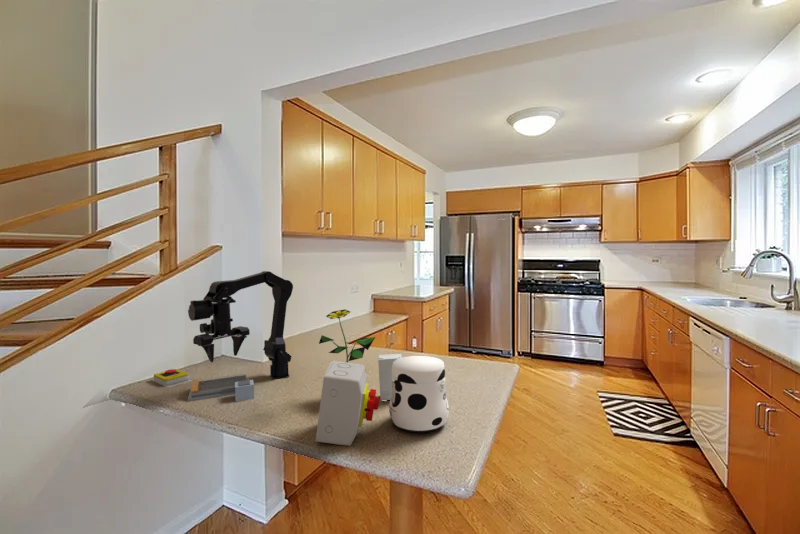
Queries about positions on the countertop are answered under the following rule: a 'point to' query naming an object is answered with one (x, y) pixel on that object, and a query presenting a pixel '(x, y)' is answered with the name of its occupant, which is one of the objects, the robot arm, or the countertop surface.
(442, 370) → the cow print canister
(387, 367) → the skincare box
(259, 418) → the countertop surface
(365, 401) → the electrical switch box
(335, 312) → the potted plant
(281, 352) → the robot arm
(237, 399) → the block
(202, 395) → the rail plate
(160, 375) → the emergency button
